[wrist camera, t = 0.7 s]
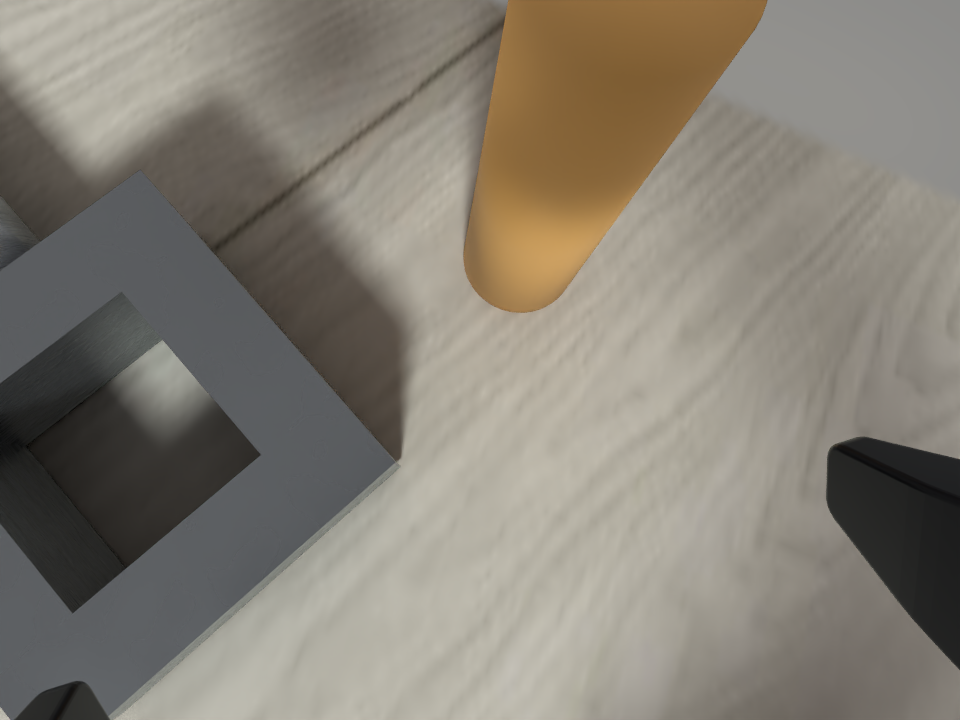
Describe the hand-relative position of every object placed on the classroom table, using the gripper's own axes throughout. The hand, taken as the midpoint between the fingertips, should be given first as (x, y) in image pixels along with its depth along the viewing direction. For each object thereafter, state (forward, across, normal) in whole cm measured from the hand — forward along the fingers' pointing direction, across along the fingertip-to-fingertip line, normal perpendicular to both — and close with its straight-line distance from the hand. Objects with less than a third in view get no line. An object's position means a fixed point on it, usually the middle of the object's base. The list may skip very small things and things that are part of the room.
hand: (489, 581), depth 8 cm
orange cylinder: (+15, -4, +1) cm, 16 cm away
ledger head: (+15, +9, 0) cm, 18 cm away
